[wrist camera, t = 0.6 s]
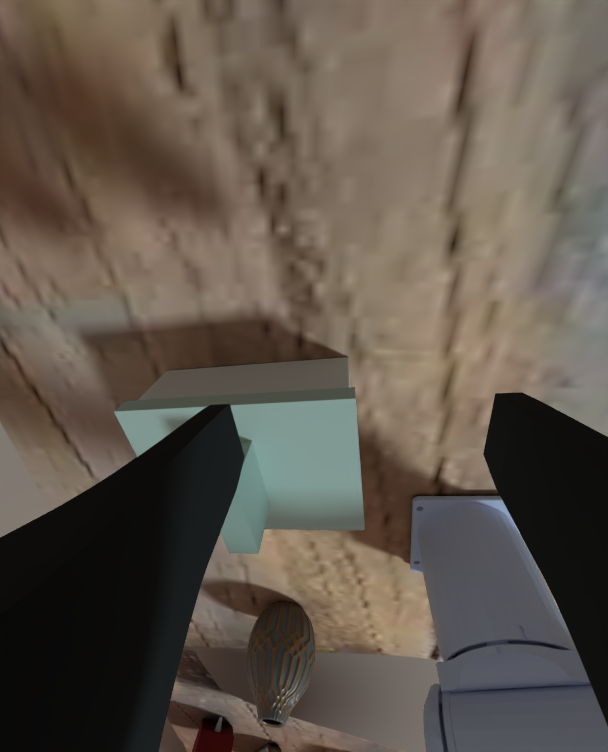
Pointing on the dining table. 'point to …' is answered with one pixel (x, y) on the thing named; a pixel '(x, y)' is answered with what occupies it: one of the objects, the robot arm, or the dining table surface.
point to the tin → (269, 749)
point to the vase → (280, 661)
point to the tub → (252, 379)
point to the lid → (274, 458)
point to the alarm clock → (214, 737)
